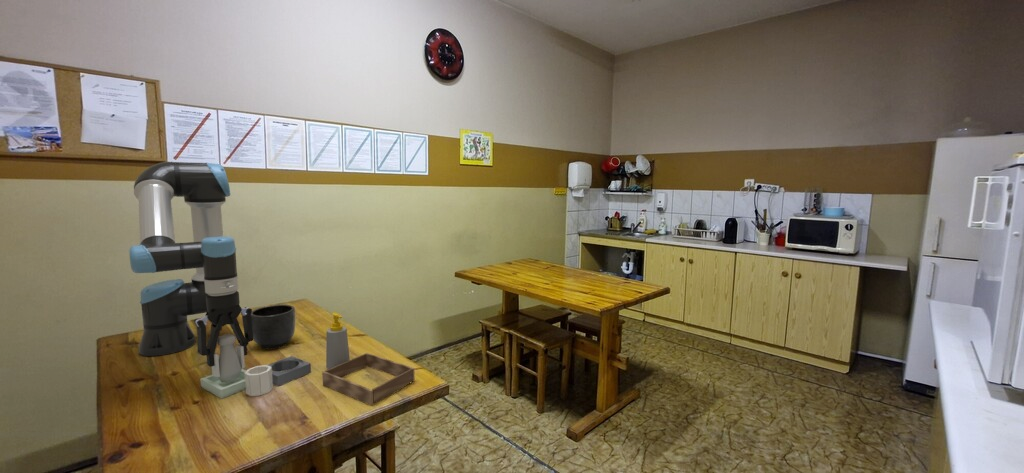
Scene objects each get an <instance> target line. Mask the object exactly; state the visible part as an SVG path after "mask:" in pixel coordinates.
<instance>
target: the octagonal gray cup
mask: <svg viewBox="0 0 1024 473" xmlns="http://www.w3.org/2000/svg"><path fill="white" fill-rule="evenodd" d="M245 385H246V389H245V394H246V395H248V396H249V397H257V396H263V395H265V394H267V393H269V392H271V391H272V389H273V388H274V384H273V379H272V367H270V366H268V364H263V365H256V366H254V367H250V368H248V369H247V371H246V372H245Z"/></svg>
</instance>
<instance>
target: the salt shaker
mask: <svg viewBox="0 0 1024 473" xmlns="http://www.w3.org/2000/svg"><path fill="white" fill-rule="evenodd" d="M236 342H237V338H236V336H235V334H234V333H227V334H222V335H219V337H218V341H217V345H218V346H220V348H219V354H218V360H219V372H220V377H218V378H219V379H220V381H221V382H226V383H227V382H231V381H235V380H236V379H237V378H239V375H240V373H241V366H240V363H239V359H238V356H237V352H236V345H235V344H236Z"/></svg>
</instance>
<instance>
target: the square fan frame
mask: <svg viewBox="0 0 1024 473" xmlns="http://www.w3.org/2000/svg"><path fill="white" fill-rule="evenodd" d="M267 365H268V366H270V367H272V379H273V386H274V385H275V386H277V387H279V386H282V385H285V384H287V383H289V382H291V381H294V380H297V379H300V378H301V377H304V376H307V375H308V374H311V373H312V370H311V369H312V368H311V366H312V365H311V362H308V361H306V360H304V359H301V358H297V357H296V356H293V355H291V356H288V357H285V358H283V359H280V360H277V361H274V362H272V363H269V364H267Z"/></svg>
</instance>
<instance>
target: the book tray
mask: <svg viewBox="0 0 1024 473" xmlns="http://www.w3.org/2000/svg"><path fill="white" fill-rule="evenodd" d="M366 367H370V368H373V369H375V370H378V371H382V372H383V371H384V372H385V373H386V374H389V375H392V376H394V377H393V378H391V379H389V380H387V381H385V382H383V383H382V384H379V385H377V386H376V387H374V388H372V389H370V388H368V387H365V386H363V385H360V384H358V383H356V382H352V381H351V380H347V379H345V378H344V377H346V376H348V375H351V374H352V373H355V372H357V371H359V370H362V369H363V368H366ZM321 375H322V377H321V378H322V386H324V387H327V388H329V389H331V390H334V391H336V392H338V393H341V394H343V395H346V396H348V397H350V398H352V399H355V400H358V401H360V402H362V403H365V404H367V405H369V406H371V407H372V406H374V405H375V404H377V403H379V402H380V400H381V401H382V400H384V399H386V398H388V397H389V396H391V395H394V392H395V393H396V392H398V391H400V390H402V389H403V388H405V387H407V386H408V385H407V384H409V383H410V382H412V381H414V380H415V377H416V376H415V368H414V367H412V366H409V365H406V364H403V363H400V362H397V361H393V360H391V359H388V358H385V357H382V356H381V357H380V356H378V355H375V354H371V353H369V352H366V353H364V354H361V355H359V356H356V357H354V358H352V359H350V360H349V361H347V362H344V363H342V364H340V365H337V366H335V367H333V368H330V369H325V370H324V371H322V373H321ZM414 382H415V381H414ZM412 383H413V382H412ZM410 384H411V383H410ZM410 384H409V385H410ZM406 385H407V386H406ZM404 386H405V387H404ZM401 388H402V389H401ZM399 389H400V390H399Z"/></svg>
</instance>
